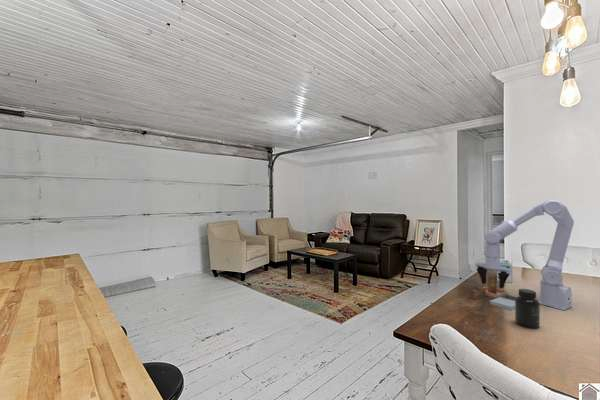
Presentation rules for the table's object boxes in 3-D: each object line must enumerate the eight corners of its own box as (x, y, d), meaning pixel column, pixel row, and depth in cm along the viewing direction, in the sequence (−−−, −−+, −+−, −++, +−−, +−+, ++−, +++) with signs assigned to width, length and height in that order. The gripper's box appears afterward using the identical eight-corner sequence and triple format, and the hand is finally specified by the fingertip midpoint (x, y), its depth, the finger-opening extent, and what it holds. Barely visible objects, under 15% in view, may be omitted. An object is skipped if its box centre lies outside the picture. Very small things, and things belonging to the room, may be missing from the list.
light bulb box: (512, 283, 149) (512, 263, 148) (496, 281, 153) (496, 261, 152) (512, 278, 157) (512, 259, 157) (497, 276, 161) (497, 257, 161)
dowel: (498, 293, 131) (498, 278, 131) (493, 294, 130) (493, 279, 130) (491, 291, 134) (491, 276, 134) (486, 292, 133) (486, 277, 133)
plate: (521, 307, 117) (521, 303, 117) (511, 311, 113) (511, 306, 113) (499, 301, 124) (499, 297, 124) (489, 305, 120) (489, 300, 120)
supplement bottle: (537, 322, 102) (537, 289, 102) (541, 330, 96) (541, 295, 96) (513, 318, 106) (513, 286, 106) (516, 326, 100) (516, 292, 100)
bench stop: (485, 296, 129) (485, 286, 129) (475, 299, 126) (475, 289, 125) (480, 295, 131) (480, 285, 131) (470, 298, 127) (470, 288, 127)
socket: (523, 301, 123) (523, 298, 123) (514, 304, 120) (514, 301, 120) (505, 296, 129) (505, 293, 129) (496, 299, 126) (496, 296, 126)
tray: (508, 295, 131) (508, 291, 131) (498, 299, 126) (498, 294, 126) (487, 289, 139) (487, 286, 139) (476, 292, 134) (476, 289, 134)
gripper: (514, 258, 128) (514, 288, 128) (481, 253, 140) (481, 280, 141) (506, 260, 124) (506, 291, 124) (473, 254, 137) (472, 282, 137)
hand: (492, 285), depth 132 cm, fingers open, 7 cm apart
